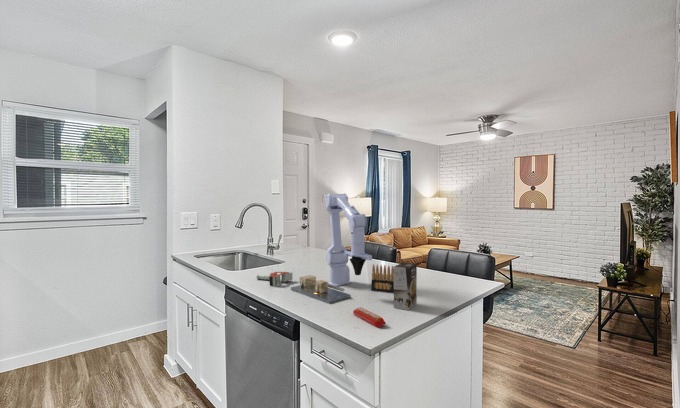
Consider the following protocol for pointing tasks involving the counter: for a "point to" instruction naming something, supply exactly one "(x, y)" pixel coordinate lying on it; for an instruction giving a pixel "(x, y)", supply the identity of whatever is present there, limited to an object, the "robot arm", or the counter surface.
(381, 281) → the ammunition clip
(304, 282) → the trammel beam
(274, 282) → the tape dispenser
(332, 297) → the bolt plate
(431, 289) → the counter surface
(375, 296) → the counter surface
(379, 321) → the candy bar
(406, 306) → the coffee box
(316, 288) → the trammel slider
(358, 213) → the robot arm
